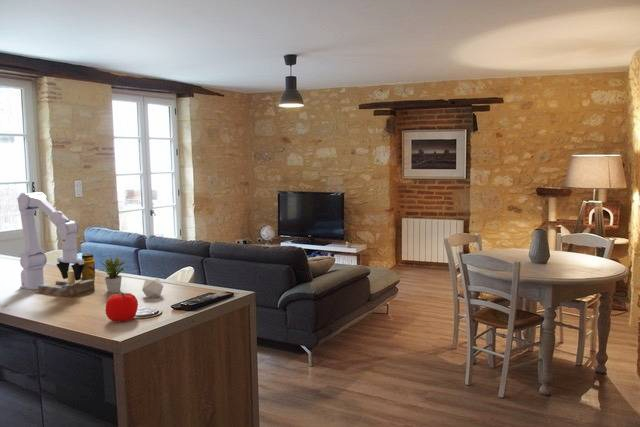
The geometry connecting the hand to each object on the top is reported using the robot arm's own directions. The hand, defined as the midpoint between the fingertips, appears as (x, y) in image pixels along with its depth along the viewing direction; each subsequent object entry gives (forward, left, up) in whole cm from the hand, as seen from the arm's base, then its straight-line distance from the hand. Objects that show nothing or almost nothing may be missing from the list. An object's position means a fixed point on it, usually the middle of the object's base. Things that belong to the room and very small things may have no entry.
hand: (71, 279), depth 233 cm
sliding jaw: (0, 0, -4) cm, 4 cm away
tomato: (+51, -21, -6) cm, 55 cm away
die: (+38, +9, -6) cm, 39 cm away
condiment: (-16, +22, -6) cm, 28 cm away
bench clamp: (-4, 0, -6) cm, 7 cm away
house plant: (+16, +9, -6) cm, 19 cm away
